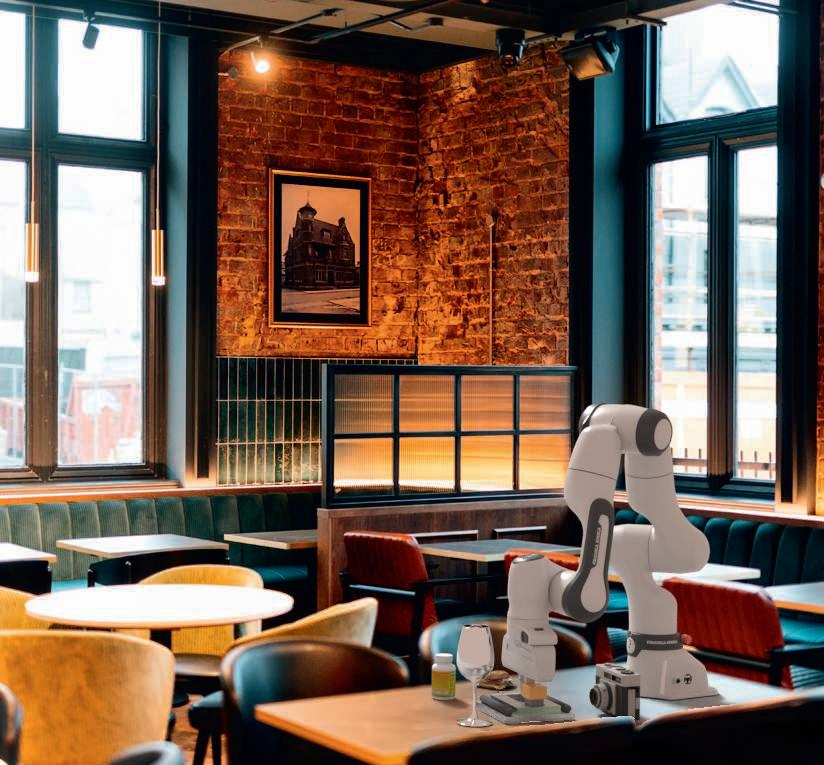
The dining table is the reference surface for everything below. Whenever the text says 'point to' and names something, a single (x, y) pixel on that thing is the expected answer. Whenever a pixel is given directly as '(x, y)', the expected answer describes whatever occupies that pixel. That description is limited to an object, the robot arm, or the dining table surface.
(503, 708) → the dark grey slide rails
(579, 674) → the dining table surface
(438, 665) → the supplement bottle
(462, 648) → the wineglass
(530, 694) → the toggle
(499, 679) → the hamburger
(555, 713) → the panel
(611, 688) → the camera
